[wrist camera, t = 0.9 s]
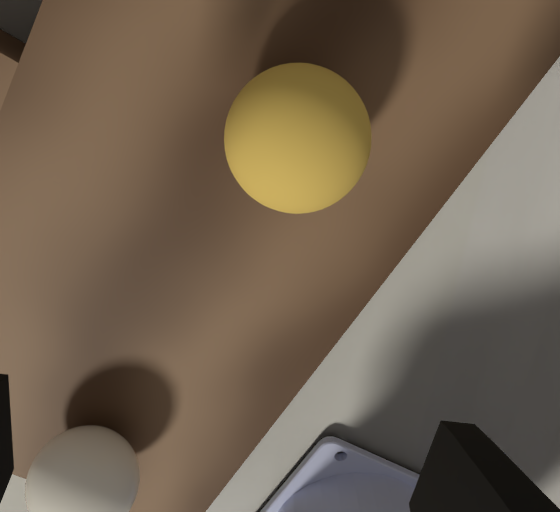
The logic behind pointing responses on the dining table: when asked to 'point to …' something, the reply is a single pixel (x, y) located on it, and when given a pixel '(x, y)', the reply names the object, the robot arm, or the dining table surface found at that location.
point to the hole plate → (218, 209)
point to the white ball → (83, 473)
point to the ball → (297, 138)
